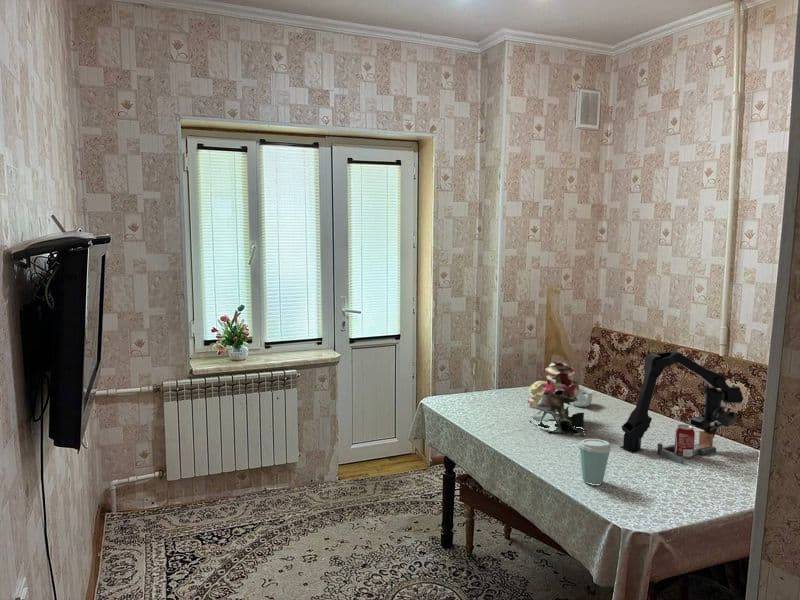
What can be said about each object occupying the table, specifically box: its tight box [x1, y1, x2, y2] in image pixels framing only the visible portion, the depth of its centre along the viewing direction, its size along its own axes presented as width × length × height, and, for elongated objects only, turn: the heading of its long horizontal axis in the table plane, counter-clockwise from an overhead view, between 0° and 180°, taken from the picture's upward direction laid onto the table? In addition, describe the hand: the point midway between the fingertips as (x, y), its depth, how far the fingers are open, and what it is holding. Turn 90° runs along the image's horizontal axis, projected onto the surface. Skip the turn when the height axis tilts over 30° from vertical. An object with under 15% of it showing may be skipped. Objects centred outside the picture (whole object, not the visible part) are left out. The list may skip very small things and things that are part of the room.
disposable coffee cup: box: [579, 438, 612, 484], centre depth 203 cm, size 11×11×15 cm
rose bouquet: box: [527, 360, 593, 437], centre depth 262 cm, size 26×29×30 cm
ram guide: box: [694, 443, 717, 456], centre depth 233 cm, size 8×6×2 cm
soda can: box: [673, 423, 696, 459], centre depth 228 cm, size 7×7×12 cm
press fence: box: [657, 443, 684, 464], centre depth 228 cm, size 12×11×4 cm
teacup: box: [571, 387, 594, 408], centre depth 293 cm, size 14×11×8 cm
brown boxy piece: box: [693, 430, 714, 456], centre depth 231 cm, size 10×5×7 cm, turn 116°
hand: (710, 440), depth 235 cm, fingers closed
